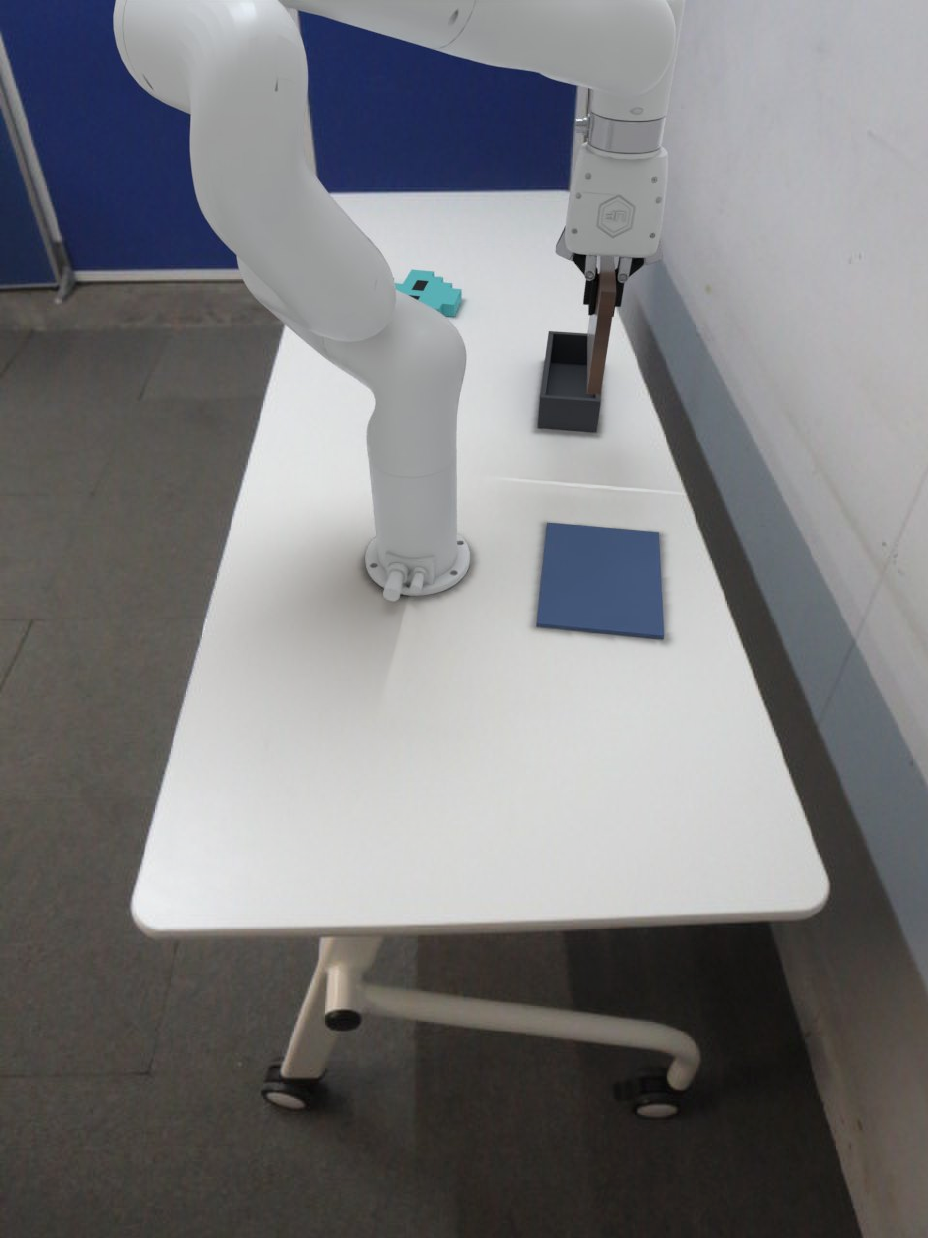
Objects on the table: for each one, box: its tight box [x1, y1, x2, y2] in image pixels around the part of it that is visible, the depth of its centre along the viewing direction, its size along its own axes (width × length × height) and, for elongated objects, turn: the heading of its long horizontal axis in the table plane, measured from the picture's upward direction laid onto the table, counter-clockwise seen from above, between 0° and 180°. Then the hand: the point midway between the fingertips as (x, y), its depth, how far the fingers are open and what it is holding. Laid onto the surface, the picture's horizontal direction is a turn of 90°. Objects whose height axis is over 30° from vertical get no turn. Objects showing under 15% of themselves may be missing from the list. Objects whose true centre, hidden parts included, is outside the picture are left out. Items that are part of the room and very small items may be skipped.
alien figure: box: [395, 269, 463, 318], centre depth 146 cm, size 20×2×20 cm
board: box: [586, 255, 616, 395], centre depth 94 cm, size 16×2×12 cm, turn 174°
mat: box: [535, 522, 665, 640], centre depth 95 cm, size 18×14×1 cm
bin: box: [537, 330, 602, 434], centre depth 122 cm, size 21×9×6 cm, turn 172°
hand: (600, 310), depth 94 cm, fingers closed on board, 1 cm apart
